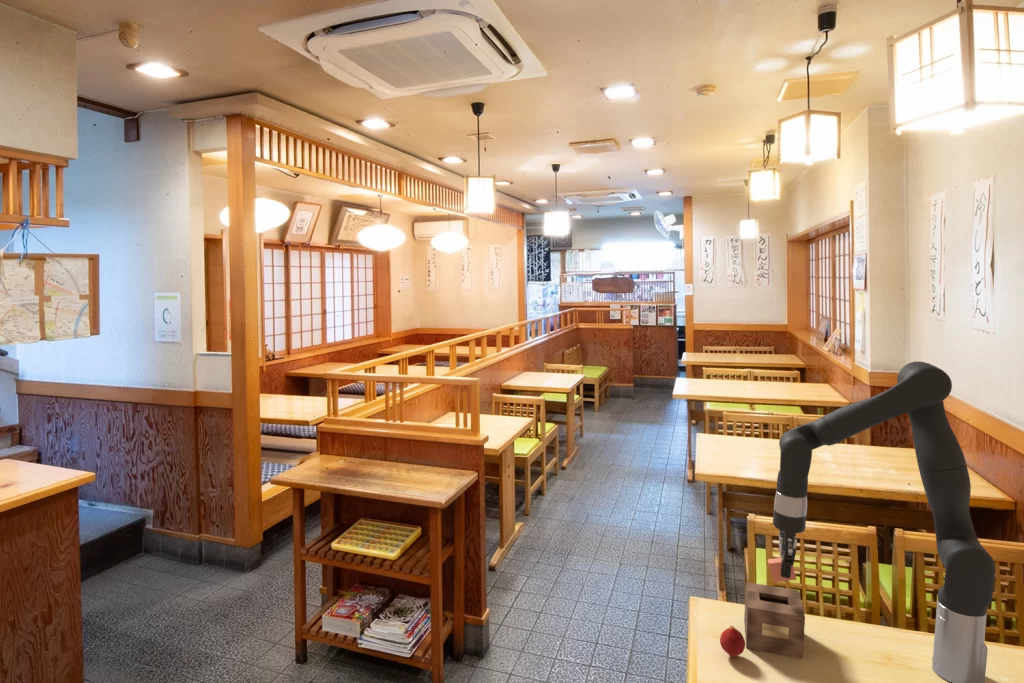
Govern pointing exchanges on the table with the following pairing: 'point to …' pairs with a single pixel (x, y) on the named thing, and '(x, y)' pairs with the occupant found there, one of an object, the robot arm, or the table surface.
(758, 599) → the box
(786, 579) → the tall salmon pink box
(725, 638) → the red pomegranate
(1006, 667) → the table surface
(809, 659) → the table surface
